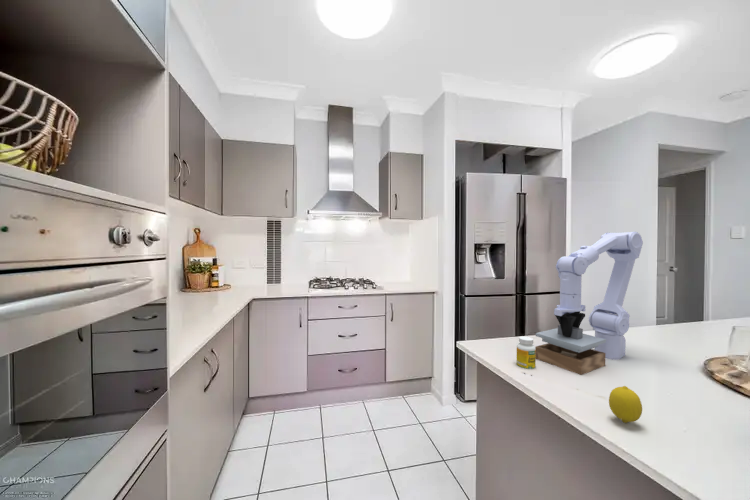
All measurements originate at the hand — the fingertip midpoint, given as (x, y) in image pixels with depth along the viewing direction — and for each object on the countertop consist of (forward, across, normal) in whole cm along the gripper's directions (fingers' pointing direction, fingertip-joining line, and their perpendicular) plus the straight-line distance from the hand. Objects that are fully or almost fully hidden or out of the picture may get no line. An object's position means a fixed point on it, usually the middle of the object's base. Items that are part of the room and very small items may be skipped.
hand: (569, 335), depth 95 cm
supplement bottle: (+10, +15, -5) cm, 19 cm away
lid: (+3, 0, 0) cm, 3 cm away
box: (+10, 0, 0) cm, 10 cm away
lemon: (+10, +22, +23) cm, 33 cm away
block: (+9, -1, -1) cm, 9 cm away
